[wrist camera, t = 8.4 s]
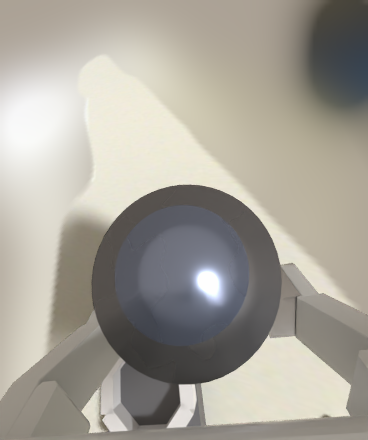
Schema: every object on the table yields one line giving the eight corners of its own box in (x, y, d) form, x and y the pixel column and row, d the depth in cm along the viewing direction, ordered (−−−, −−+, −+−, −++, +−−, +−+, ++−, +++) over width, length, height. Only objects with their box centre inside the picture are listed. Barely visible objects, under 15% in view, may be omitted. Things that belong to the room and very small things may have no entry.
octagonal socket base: (207, 440, 19) (204, 480, 15) (122, 444, 21) (97, 482, 16) (191, 308, 24) (184, 312, 20) (121, 317, 25) (102, 322, 21)
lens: (250, 319, 12) (326, 382, 3) (173, 328, 12) (77, 404, 4) (232, 243, 14) (255, 162, 5) (166, 254, 14) (88, 197, 6)
